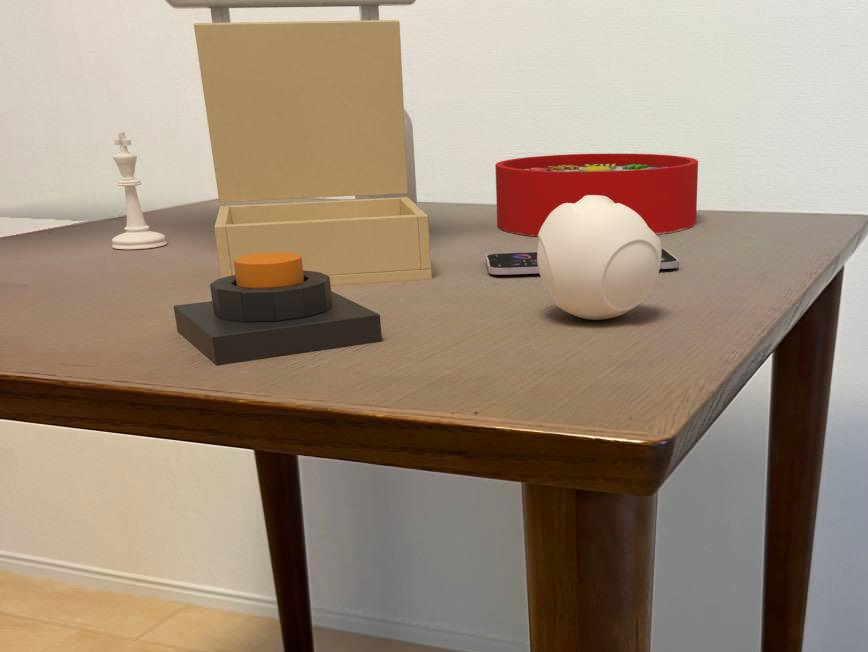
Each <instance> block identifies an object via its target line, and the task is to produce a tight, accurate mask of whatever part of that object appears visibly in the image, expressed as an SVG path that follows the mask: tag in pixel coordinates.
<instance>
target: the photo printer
mask: <svg viewBox="0 0 868 652" xmlns="http://www.w3.org/2000/svg"><path fill="white" fill-rule="evenodd" d="M404 122H405V142H406V162H407V183H408V193H403V194H382V195H361V196H354V199H375V198H395V197H398V198H399V197H408V198H409V199H410V200H411V201H412V202H414V203H415V204H416V205H417V206H418V197H417V196H418V195H417V179H416V177H417V176H416V162H415V161H416V160H415V144H414V128H413V122H412V118H411V115H410V114H409V112H408V111H407V109H406V108H405V107H404Z"/></svg>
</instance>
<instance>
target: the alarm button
mask: <svg viewBox="0 0 868 652" xmlns="http://www.w3.org/2000/svg"><path fill="white" fill-rule="evenodd" d="M234 267H235V275H236V282H237V286H240V287H249V288H268V287H280V286H288V285H294V284H298V283H302V282H304V275H303V266H302V257H301V255H299V254H295V253H285V252H272V253H258V254H250V255H244V256H240V257H237V258H235V259H234Z"/></svg>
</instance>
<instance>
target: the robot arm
mask: <svg viewBox="0 0 868 652" xmlns="http://www.w3.org/2000/svg"><path fill="white" fill-rule="evenodd" d="M164 1H165V2H166V3H167V4H168V5H169V6H170V7H171V8H173V9H177V10H182V9H183V10H186V9H188V10H190V9H192V10H193V9H196V10H197V9H210V16H211V23H232V21H231V20H232V19H231V11H230V9H255V8H256V9H259V8H261V9H262V8H263V9H265V8H266V9H268V8H269V9H270V8H331V7H333V8H335V7H338V8H339V7H341V8H343V7H346V8H347V7H358V12H359V21H363V20H380V10H379V9H380V8H379V7H404V6H405V7H408V6H412V5H414V4H415V3H416V1H417V0H164Z"/></svg>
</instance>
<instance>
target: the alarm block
mask: <svg viewBox="0 0 868 652" xmlns="http://www.w3.org/2000/svg"><path fill="white" fill-rule="evenodd" d="M303 275H304V282H302V283H298V284H294V285H288V286H280V287H268V288H249V287H240V286H237V282H236V275H232V276H228V277H223V278H221V277H219V278H217V279H216V280H214V281H213V282H211V283H210V284H209V288H210V295H211V300H210V301H201V302H194V303H193V302H192V303H185V304H177V305H173V312H174V319H175V325H176V330H177V333H179V335H181V336H182V337H183V338H184V339H185V340H187V341H188V343H190V344H191V345H192V346H194V347H195V348H196V349H197V350H198V351H199V352H200V353H202V354H203V355H204V356H205V357H206V358H207V359H208V360H210V362H212V363H213V364H214V365H216V366H218V367H219V366H224V365H231V364H238V363H244V362H251V361H252V362H253V361H259V360H266V359H272V358H279V357H286V356H293V355H300V354H307V353H314V352H321V351H327V350H334V349H342V348H347V347H356V346H361V345H362V346H363V345H368V344H377V343H381V342H383V335H382V322H381V315H380V313H378V312H376V311H373V310H371V309H370V308H367V307H365V306H363V305H361V304H359V303H357V302H355V301H353V300H351V299H349V298H348V297H347V298H346V297H345V296H343V295H341V294H338V293H336V292H334V291H333V290H332V286H331V285H330V277H329V276H327V275H325V274H323V273H321V272H315V271H305V270H303Z"/></svg>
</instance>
